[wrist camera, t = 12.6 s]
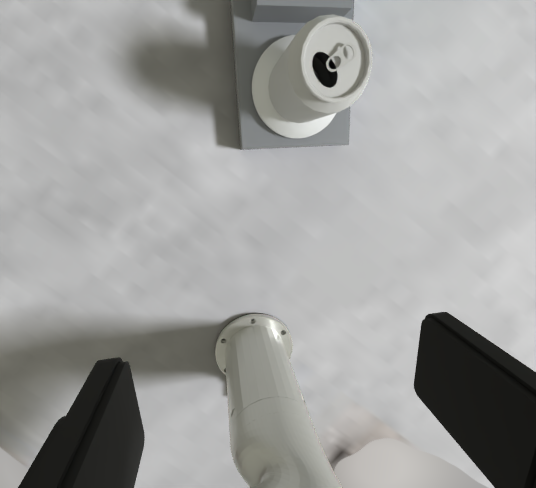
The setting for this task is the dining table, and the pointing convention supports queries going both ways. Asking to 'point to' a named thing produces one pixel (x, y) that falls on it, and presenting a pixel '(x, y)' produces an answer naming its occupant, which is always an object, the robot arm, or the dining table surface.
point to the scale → (262, 63)
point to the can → (321, 69)
